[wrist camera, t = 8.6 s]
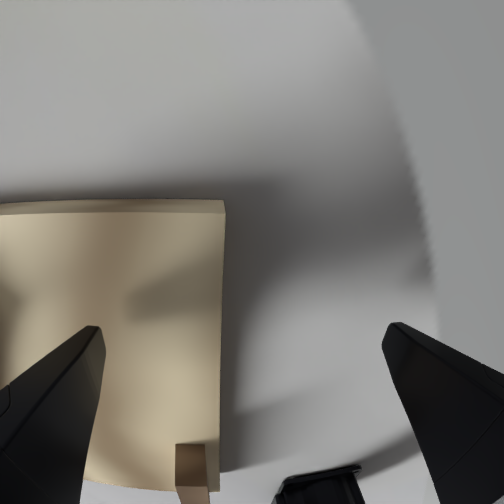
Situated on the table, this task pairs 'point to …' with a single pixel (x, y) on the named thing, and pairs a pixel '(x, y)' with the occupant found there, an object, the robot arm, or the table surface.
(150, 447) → the board
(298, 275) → the table surface
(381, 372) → the table surface
